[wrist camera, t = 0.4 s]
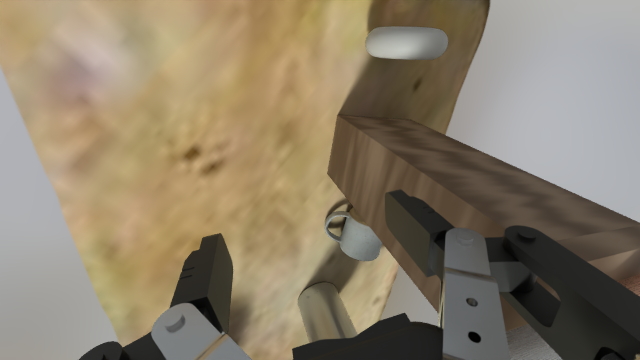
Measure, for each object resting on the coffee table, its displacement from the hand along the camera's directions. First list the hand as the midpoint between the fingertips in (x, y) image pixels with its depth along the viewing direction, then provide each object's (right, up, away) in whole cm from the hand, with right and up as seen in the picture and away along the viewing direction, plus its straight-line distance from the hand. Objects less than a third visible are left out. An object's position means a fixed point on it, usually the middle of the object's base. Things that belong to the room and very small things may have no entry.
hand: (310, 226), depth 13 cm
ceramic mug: (+6, -6, +39) cm, 40 cm away
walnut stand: (+9, +8, +32) cm, 34 cm away
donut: (+9, +22, +25) cm, 34 cm away
